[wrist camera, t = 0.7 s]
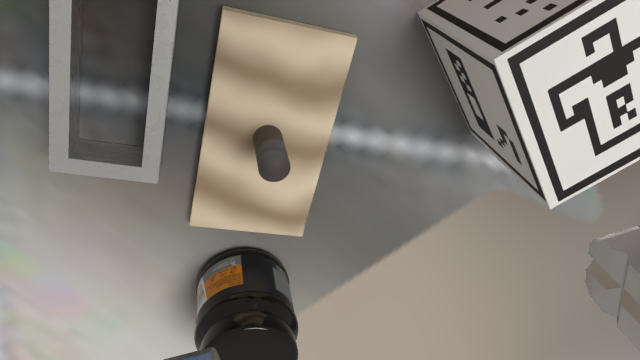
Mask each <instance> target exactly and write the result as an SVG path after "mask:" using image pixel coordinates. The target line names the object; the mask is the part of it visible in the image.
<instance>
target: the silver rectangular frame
mask: <svg viewBox="0 0 640 360" xmlns="http://www.w3.org/2000/svg"><path fill="white" fill-rule="evenodd" d="M179 6H180V0H158V4H157V14H156V25H155V35H154V45H153V56H152V66H151V76H150V87H149V97H148V107H147V118H146V128H145V139H144V147H138V146H131V145H124V144H116V143H109V142H101V141H94V140H87V139H79V111H80V79H81V46H82V14H83V0H49V171H52V172H60V173H69V174H77V175H86V176H94V177H103V178H112V179H120V180H129V181H137V182H146V183H154V184H158V179H159V173H160V168H161V161H162V153H163V144H164V136H165V127H166V118H167V110H168V101H169V92H170V84H171V75H172V67H173V58H174V49H175V41H176V32H177V23H178V15H179Z"/></svg>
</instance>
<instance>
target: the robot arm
mask: <svg viewBox="0 0 640 360" xmlns="http://www.w3.org/2000/svg"><path fill="white" fill-rule="evenodd" d="M588 254H589V255H590V256H591V257H592V258H593V259H594V260H593V261H592V263H591V264H590V265H589V266H588V268H587V269H586V280H585V282H586V285H587V288H588V291H589V294H590V296H591V297H592V299H593V300H594V302H595V304H596V305H597V306H598V307H599V308H600V309H601V310H602V311H603V312H605V313H607V314H610V315H612V316H615V317H617V327H618V329H619V330H620V331H621V332H622V333H623V334H624V335H625V336H626V337H627V338H628V339H629V341H631V343H632V344H633V345H634V346H635V347H636V348H637V349H638V350H639V351H640V226H638V227H632V228H629V229H626V230H622V231H619V232H615V233H612V234H609V235H606V236H602V237H599V238H595V239H593V240H592V242H591V243H590V245H589V251H588ZM164 360H220V357H219V355H218V353H217V351H216V349H215V348H213V347H211V348H207V349H203V350H199V351H195V352H191V353H187V354H184V355H180V356H176V357H172V358H168V359H164Z"/></svg>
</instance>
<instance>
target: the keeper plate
mask: <svg viewBox="0 0 640 360" xmlns="http://www.w3.org/2000/svg"><path fill="white" fill-rule="evenodd" d="M356 42H357V37H356V36H355V35H354V34H351V33H346V32H341V31H337V30H332V29H328V28H323V27H319V26H314V25H309V24H305V23H300V22H296V21H291V20H286V19H282V18H277V17H273V16H268V15H264V14H259V13H254V12H250V11H245V10H241V9H236V8H231V7H227V6H223V7H222V13H221V20H220V26H219V33H218V39H217V46H216V52H215V59H214V65H213V72H212V78H211V85H210V91H209V98H208V104H207V111H206V117H205V124H204V130H203V137H202V143H201V150H200V156H199V163H198V169H197V176H196V182H195V189H194V195H193V202H192V208H191V215H190V226H197V227H208V228H218V229H228V230H239V231H249V232H260V233H270V234H280V235H291V236H301V237H302V235H303V231H304V227H305V224H306V220H307V217H308V213H309V210H310V206H311V202H312V199H313V195H314V192H315V188H316V185H317V181H318V178H319V174H320V170H321V167H322V163H323V160H324V156H325V153H326V149H327V145H328V142H329V138H330V135H331V131H332V128H333V124H334V120H335V117H336V113H337V110H338V106H339V103H340V99H341V96H342V92H343V88H344V85H345V81H346V78H347V74H348V71H349V67H350V63H351V60H352V56H353V53H354V49H355V46H356Z"/></svg>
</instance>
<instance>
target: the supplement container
mask: <svg viewBox="0 0 640 360" xmlns="http://www.w3.org/2000/svg"><path fill="white" fill-rule="evenodd" d="M297 336H298V322H297V318H296V315H295V313H294V308H293V303H292V297H291V292H290V287H289V278H288V275H287V272H286V270H285V268H284V266H283V265H282V264H281V263H280V262H279V261H278V260H277V259H276V258H275V257H274V256H272V255H270V254H268V253H266V252H263V251H260V250H256V249H237V250H232V251H228V252H226V253H223V254H221V255H219V256H217V257H216V258H214V259H213V260H212V261H210V262H209V263H208V264H207V265H206V266H205V268H204V269H203V271H202V272H201V274H200V276H199V279H198V282H197V314H196V327H195V332H194V340H195V345H196V348H197V350H198V351H199V350H203V349H207V348H211V347H213V348H215V349H216V351H217V353H218V355H219V357H220V360H298V349H297V343H296V339H297Z"/></svg>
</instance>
